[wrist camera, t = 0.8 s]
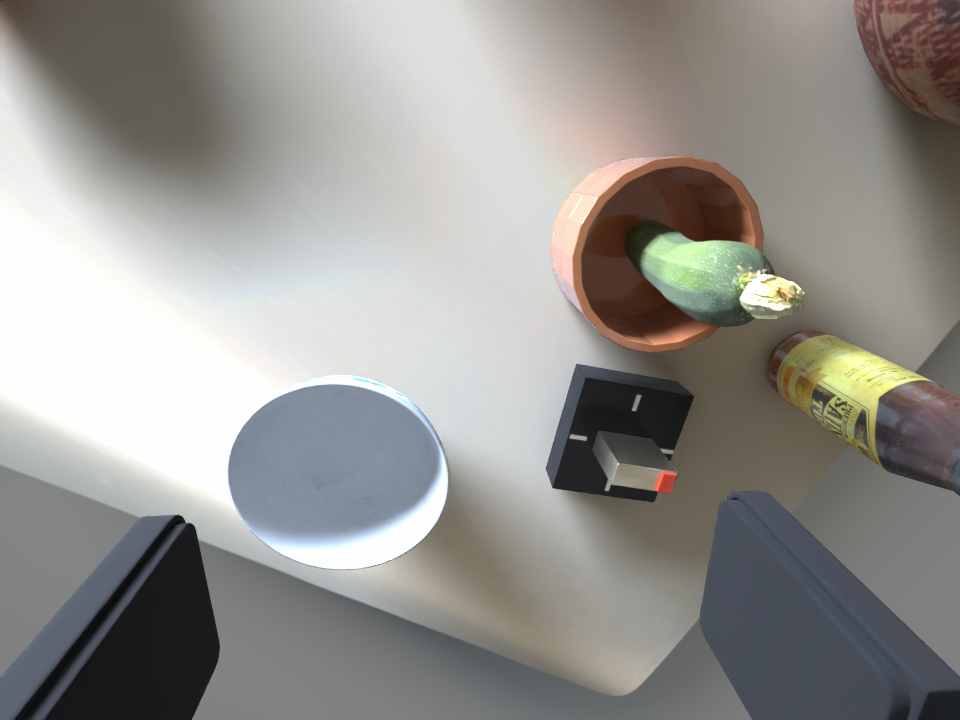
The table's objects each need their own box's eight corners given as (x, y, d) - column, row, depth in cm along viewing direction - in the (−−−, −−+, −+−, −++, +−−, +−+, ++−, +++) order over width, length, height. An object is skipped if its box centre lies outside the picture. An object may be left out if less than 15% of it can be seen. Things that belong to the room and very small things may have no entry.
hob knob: (591, 449, 42) (611, 487, 37) (598, 429, 42) (619, 465, 37) (645, 457, 43) (672, 495, 38) (652, 438, 42) (680, 474, 37)
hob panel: (576, 363, 43) (586, 378, 40) (678, 381, 44) (695, 397, 41) (545, 468, 46) (552, 489, 43) (641, 482, 47) (655, 504, 44)
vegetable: (667, 260, 40) (866, 347, 21) (613, 283, 40) (764, 388, 22) (651, 205, 38) (850, 246, 20) (595, 229, 39) (740, 291, 20)
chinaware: (222, 409, 42) (177, 460, 35) (375, 307, 40) (361, 339, 33) (340, 534, 47) (322, 602, 40) (481, 449, 45) (490, 504, 38)
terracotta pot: (575, 140, 37) (604, 135, 30) (733, 178, 39) (794, 181, 32) (533, 307, 41) (551, 334, 34) (678, 334, 43) (721, 366, 36)
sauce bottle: (750, 359, 44) (979, 504, 25) (816, 312, 43) (1106, 427, 24) (785, 412, 46) (1021, 583, 27) (849, 369, 45) (1140, 515, 26)
